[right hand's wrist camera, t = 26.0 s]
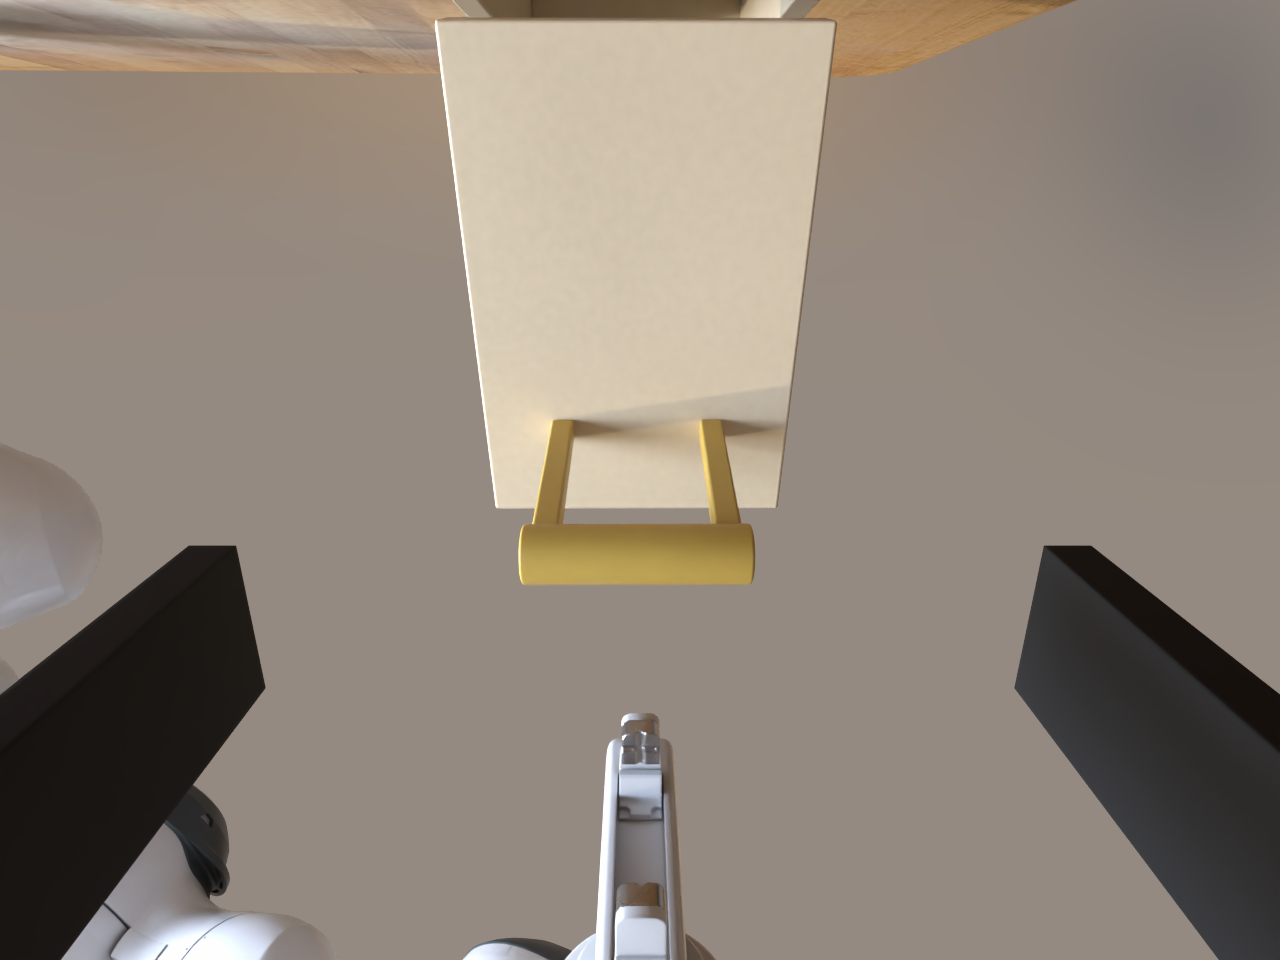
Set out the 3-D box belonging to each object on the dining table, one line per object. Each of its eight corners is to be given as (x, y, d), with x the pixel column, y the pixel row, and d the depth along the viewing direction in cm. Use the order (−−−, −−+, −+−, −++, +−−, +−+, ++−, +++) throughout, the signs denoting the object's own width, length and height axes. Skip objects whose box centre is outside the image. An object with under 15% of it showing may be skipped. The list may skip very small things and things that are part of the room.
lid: (772, 487, 27) (819, 665, 20) (501, 488, 27) (454, 666, 20) (827, 17, 19) (935, 42, 12) (444, 17, 19) (335, 42, 12)
